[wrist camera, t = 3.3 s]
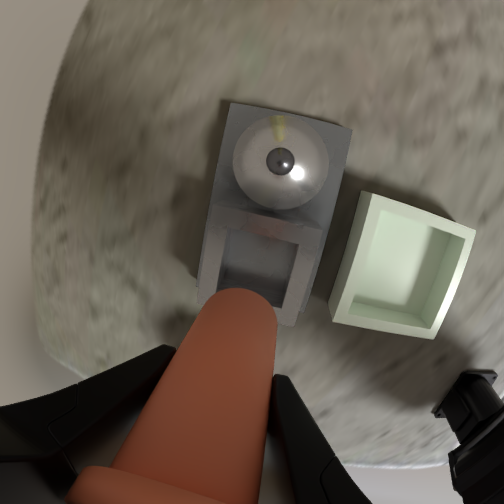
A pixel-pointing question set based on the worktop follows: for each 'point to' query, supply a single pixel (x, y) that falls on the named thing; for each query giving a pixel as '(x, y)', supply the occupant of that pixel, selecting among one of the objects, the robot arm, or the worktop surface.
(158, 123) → the worktop surface
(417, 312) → the tray
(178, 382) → the pin
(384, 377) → the worktop surface
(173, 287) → the worktop surface
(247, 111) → the block
